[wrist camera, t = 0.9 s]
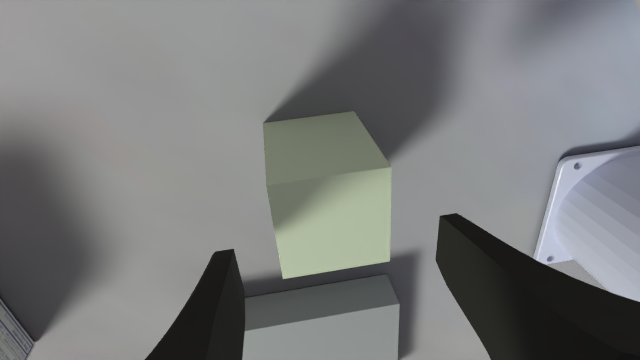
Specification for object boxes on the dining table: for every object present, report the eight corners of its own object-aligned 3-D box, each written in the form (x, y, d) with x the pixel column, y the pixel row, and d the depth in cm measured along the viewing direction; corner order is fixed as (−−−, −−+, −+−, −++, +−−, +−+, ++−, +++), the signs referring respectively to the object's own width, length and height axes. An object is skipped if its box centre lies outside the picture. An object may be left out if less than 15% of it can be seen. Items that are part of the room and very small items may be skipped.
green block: (354, 110, 19) (391, 166, 14) (356, 188, 21) (389, 261, 16) (262, 122, 18) (266, 185, 13) (275, 200, 21) (283, 279, 16)
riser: (386, 274, 25) (399, 303, 22) (385, 368, 30) (396, 400, 28) (198, 305, 24) (192, 340, 21) (230, 398, 29) (228, 434, 26)
